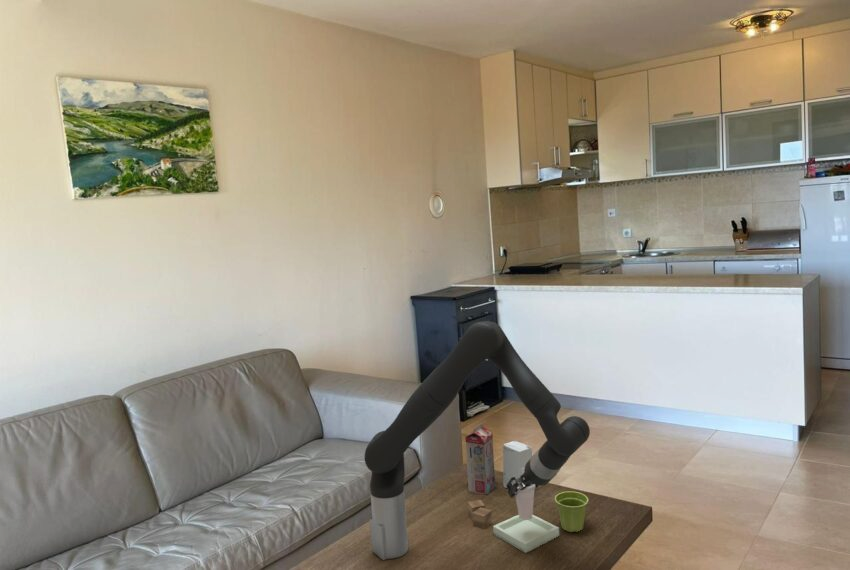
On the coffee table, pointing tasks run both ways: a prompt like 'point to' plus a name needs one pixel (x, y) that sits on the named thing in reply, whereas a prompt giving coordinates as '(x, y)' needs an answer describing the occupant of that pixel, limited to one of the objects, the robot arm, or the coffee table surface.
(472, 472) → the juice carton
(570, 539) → the coffee table surface
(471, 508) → the walnut block
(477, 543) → the coffee table surface
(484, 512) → the walnut block
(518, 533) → the dish
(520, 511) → the smoothie
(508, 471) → the skincare box
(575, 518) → the plant pot
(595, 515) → the coffee table surface
